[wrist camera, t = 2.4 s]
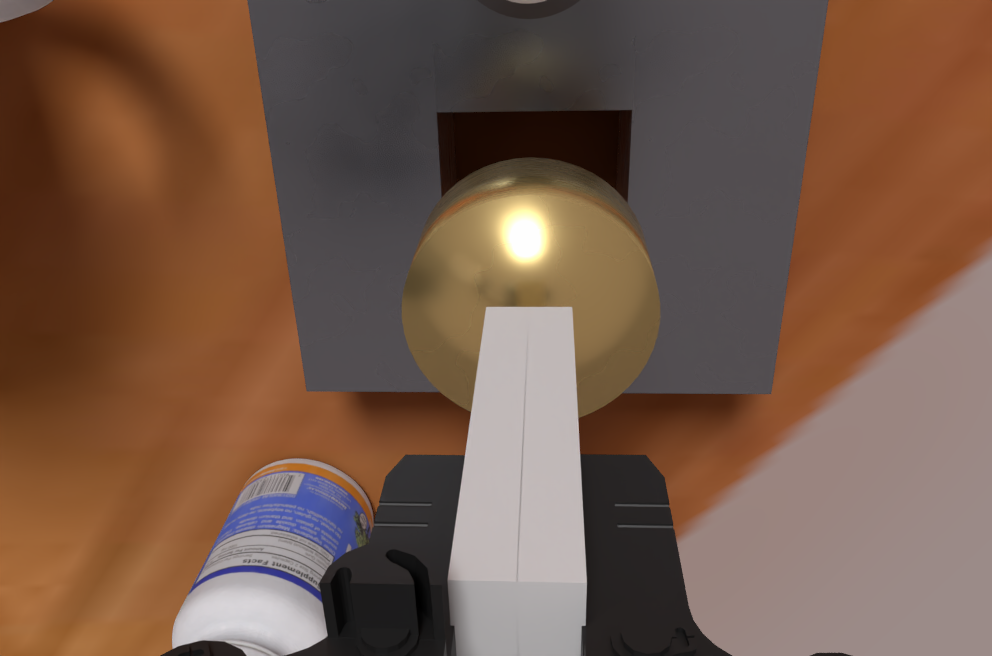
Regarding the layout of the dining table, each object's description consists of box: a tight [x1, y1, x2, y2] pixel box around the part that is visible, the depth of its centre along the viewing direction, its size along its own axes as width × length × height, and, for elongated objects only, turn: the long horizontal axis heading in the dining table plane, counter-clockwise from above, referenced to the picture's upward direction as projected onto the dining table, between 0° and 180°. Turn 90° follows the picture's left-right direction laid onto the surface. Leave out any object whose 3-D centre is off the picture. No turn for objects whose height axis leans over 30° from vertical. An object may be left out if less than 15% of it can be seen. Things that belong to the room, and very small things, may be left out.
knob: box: [402, 157, 660, 418], centre depth 20 cm, size 5×5×6 cm
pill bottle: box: [172, 458, 374, 656], centre depth 30 cm, size 5×5×10 cm
